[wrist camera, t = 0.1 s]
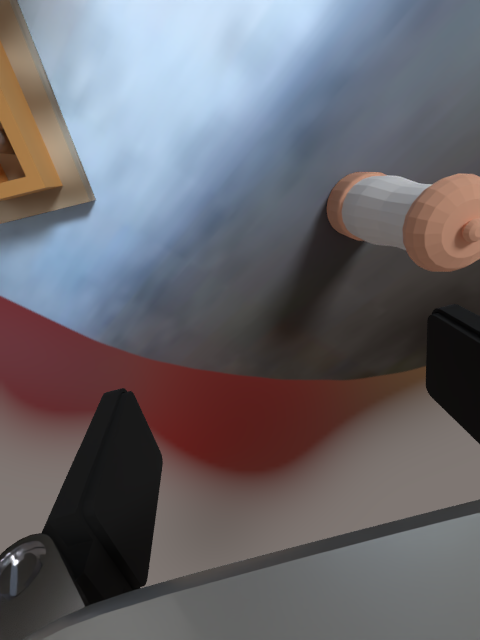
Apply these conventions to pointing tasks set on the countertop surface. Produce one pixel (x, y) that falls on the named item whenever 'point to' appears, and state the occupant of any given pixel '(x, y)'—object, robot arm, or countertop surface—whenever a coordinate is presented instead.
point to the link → (22, 139)
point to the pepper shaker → (411, 216)
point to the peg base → (11, 29)
